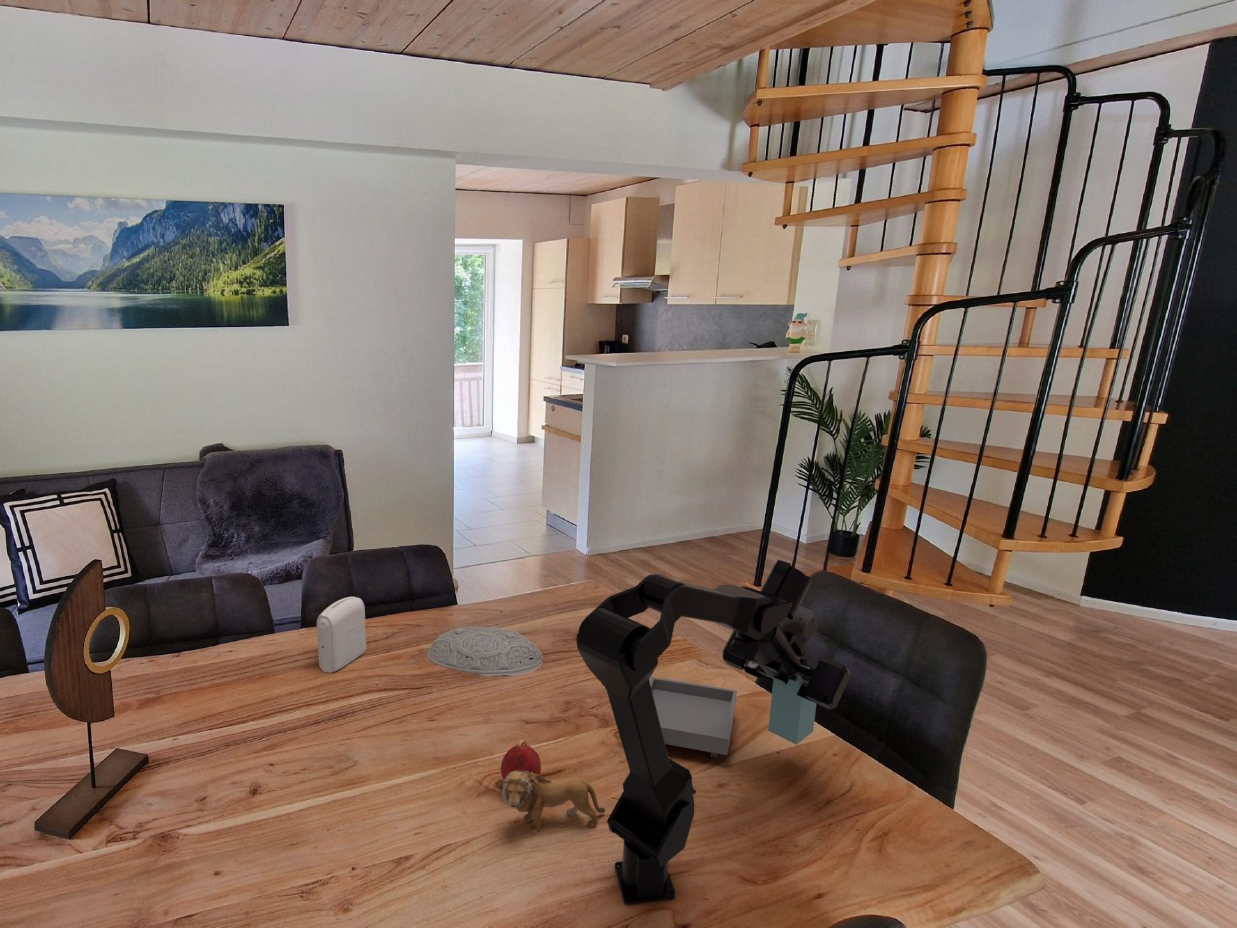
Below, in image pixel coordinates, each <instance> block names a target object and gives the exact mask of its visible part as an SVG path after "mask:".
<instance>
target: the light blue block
mask: <svg viewBox="0 0 1237 928" xmlns="http://www.w3.org/2000/svg"><path fill="white" fill-rule="evenodd" d="M800 666H801V664H800ZM802 667H803V666H802ZM808 668H809V667H808ZM796 675H797V674H795V676H796ZM802 683H803V681H802V680H801V676H799V675H798V678H797V680H796V681H795V682H794V681H792V680H789V681H788V683H787V685H786V684H784V683H782V682H779V681H777V680H775V679H773V681H772V689H771V701H770V710H769V717H768V718H769V720H768V730H767V731H768V732H770V733H772V734H774V735H777V736H778V737H780V738H782V739H784V740H786V741H788V742H791V743H793V744H794V745H798V744H799V743H801V742H802V741H803V740H805V739H806V738H807V737H808V736H811V734H812V733H814V729H815V727H814V725H815V718H816V710H817V709H816V708H817V703H814V702H811V701H809V700H807V699H804V698H802V697H800V696H798V695H797V693H798V691H799V689H800V687H801V685H802Z"/></svg>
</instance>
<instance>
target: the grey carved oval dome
mask: <svg viewBox="0 0 1237 928" xmlns="http://www.w3.org/2000/svg"><path fill="white" fill-rule="evenodd" d="M426 657H427V659H428V660H429V661H430V662H431V663H434V664H435V665H437V666H439V667H441V668H442V667H443V668H446V669H449V670H454V671H460V672H466V673H470V674H476V675H480V676H483V677H484V676H486V677H487V676H488V677H489V676H492V677H495V676H498V677H499V676H503V675H504V676H509V677H510V676H512V677H513V676H516V677H517V676H521V675H526V674H529V673H532V672H534V671H536V670H538V669H539V668H540V667H541V666H542V664H543V662H544V661H543V660H544V655H543V653H542V651H541V650H540V649H539V647H537V646H536V644H535V643H534V642H532V641H531V640H530V639H529V638H527V637H526V636H524V635H523V634H521V633H519V632H517V631H516V630H514V629H507V628H497V627H493V626H488V627H486V626H470V625H469V626H462V627H458V628H455V629H452V630H449V631H447V632H444V633H443V634H440V635H438V637H437V638H436V639H434V641H433V642H432V643H431V644H430V645H429V646H428V650H427V654H426Z"/></svg>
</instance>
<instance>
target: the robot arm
mask: <svg viewBox="0 0 1237 928" xmlns="http://www.w3.org/2000/svg"><path fill="white" fill-rule="evenodd" d="M811 584H812V579H811V577H810V576H809V575H807V574H805V573H803V571H801V570H799V569H798V568H796V567H794V566H792V563H790V562H788V561H786V560H785V561H784V560H781V559H777V560H776V562H775V563H774V565H773V566H772V569H771V570H770V572H769V574H768V575H767V577H766V579H765V581H764V583H763V585H762V587H761V588H760V590H759V589H756V588H752V587H749V586H747V585H742V586H738V585H735V584H732V583H731V584H719V585H718V586H716V588H710V587H706V586H703V585H702V586H701V585H697V584H692V583H689V582H684V581H679V580H675V579H672V578H669V577H667V576H665V575H662V574H660V573H655V574H652V573H651V574H649V575H647V576H645V577H644V578H643V579H642V580H641V581H640V582H639V583H637V584H636V585H635V586H633V587H630V588H627V589H625V590H623V591H621V592H618V593H615V594H612V595H610V596H608V597H607V598H605V599H604V600H603V601H602V602H601V603H599V604H598V606H596V607H595V608H594V609H593V610H592V611H591V612H590V613H589V614H588V615H587V616H586V617H585V618H584V619H583V620H582V621H581V623H580V626H579V627H578V631H577V632H578V633H576V640H575V643H576V647H577V651H578V653H579V655H580V656H581V658H582V660H583V662H584V663H585V666H586V667H587V668H588V669H589V671H590V672H591V673H592V674H593V676H594V677H595V678H596V679H597V680H598V681H599V682H600V683H601V684H602V685H603V686H604V688H605V690H606V693H607V697H608V701H609V703H610V707H611V711H612V714H613V717H614V721H615V725H616V728H617V732H618V735H619V738H620V741H621V745H622V749H623V752H624V755H625V758H626V759H625V760H626V762H627V766H628V770H629V773H628V775H627V776H626V778H625V779H624V781H623V783H622V789H623V791H622V793H621V795H620V796H619V798H618V800H617V802H616V804H615V806H614V807H613V809H612V811H611V813H610V814H609V816H608V818H607V820H606V823H607V826H608V830H609V832H611V834H615V835H616V836H618V837H619V838H621V839H622V840H623V847H622V848H623V850H622V851H623V852H622V860H620V861H616V862H614V870H615V873H616V874H615V875H616V878H617V882H618V884H619V890H620V893H621V898H622V900H623V903H624V904H626V905H633V904H639V903H640V904H641V903H648V902H656V901H665V900H671V899H675V898H676V890H675V887H674V884H673V882H672V881H673V880H672V878H671V875H670V873H669V862H670V860H672V859H673V858H675V857H676V856H677V855H678V854H679V853H680V852H682V851H683V850H684V849H685V847H686V845H687V841H688V837H689V833H690V830H691V826H692V822H693V819H694V815H695V798H694V795H696V793H697V790H696V789H694V786H693V780H692V779H693V776H692V774H691V771H690V770H689V769H688V768H686V767H685V766H683V765H682V764H680V763H678V762H676V761H675V760H673V759H671V758H669V753H668V750H667V746H666V745H667V744H665V741H664V737H663V733H662V729H661V725H660V721H659V717H658V713H657V709H656V705H655V701H654V697H653V693H652V689H651V685H650V679H651V677H652V676H653V673H654V672H655V670H656V668H657V667H658V665H659V661H658V660H659V659H658V658H659V657H660V656H662V654H663V653H664V652H665V651H666V650H667V649H668V648H669V647H670V646H671V644H672V638H673V633H674V628H675V623H676V622H678V621H679V619H680V618H681V617H682V618H688V619H694V620H700V621H704V622H705V621H707V622H712V623H715V624H717V625H719V626H721V627H723V628H727V629H728V630H731V631H732V632H731V634H730V636H729V638H728V639H727V641H726V643H725V645H724V647H723V648H722V653H721V656H722V660H723V661H724V662H725V663H726V664H727V665H728V666H731V667H733V668H735V669H737V670H740V671H744V672H745V673H746V674H748V675H750V676H753V677H754V678H757V679H759V680H760V679H761V680H764V681H769V682H773V679H775V680H777V681H779V682H782V683H784V684H786V685H787V683H788V681H789V680H792V681H794V682H795V681H796V680H797V678H798V675H799V676H801V680H802V681H803V683H802V685H801V687H800V689H799V691H798V693H797V695H798V696H800V697H802V698H804V699H807V700H809V701H811V702H814V703H816V705H819V706H822V707H824V708H826V709H828V710H833V709H836V708H837V706H838V704H839V702H840V700H841V698H842V696H843V694H844V691H845V689H846V687H847V684H848V682H849V681H850V678H851V673H850V671H849V669H848V667H847V666H846V665H845V664H842V663H840V662H837V661H835V660H832V659H829V658H827V657H825V656H824V657H822V658H821V659H820V660H818V659H816V658H810V659H809V660H806V659H803V658H804V657H805V656H806V654H807V652H808V648H807V646H806V644H807V642H809V640H810V639H811V637H812V636H813V635H814V634H815V633H816V632H817V630H818V626H817V619H816V613H815V611H814V610H813V609H810V608H807V607H804V606H802V605H801V604H802V602H803V600H804V598H805V596H806V594H807V592H808V591H809V588H810V586H811ZM648 609H651V610H654V611H657V612H658V613H660V619H659V620H658V621H657V622H656V623H655V624H654V625H653V626H652V627H650V626H647V625H645V624H643V623H640V622H638V621H635V620H634V619H631V617H634V616H636V615H638V614H642V613H644V612H646V611H647V610H648ZM801 657H803V658H801ZM800 664H801V666H800ZM802 666H803V667H802ZM808 667H809V668H808ZM795 674H797V675H796V676H795Z"/></svg>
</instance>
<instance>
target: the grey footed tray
mask: <svg viewBox="0 0 1237 928" xmlns="http://www.w3.org/2000/svg"><path fill="white" fill-rule="evenodd" d="M649 681H650V685H651V689H652V693H653V697H654V701H655V705H656V709H657V713H658V717H659V721H660V725H661V729H662V733H663V737H664V741H665V745H670V746H673V747H680V748H686V749H690V750H698V751H702V752H707V753H710V757H711V758H715V759H716V758H719V757H718V755H724V756H728V755H729V754H728V753H729V749H730V741H731V736H732V729H733V722H734V716H735V710H736V705H737V695H738V690H735V689H730V688H724V687H718V686H712V685H705V684H700V683H694V682H693V683H692V682H687V681H682V680H681V681H680V680H674V679H668V678H663V677H662V678H661V677H656V676H651V677H650V679H649Z"/></svg>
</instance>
